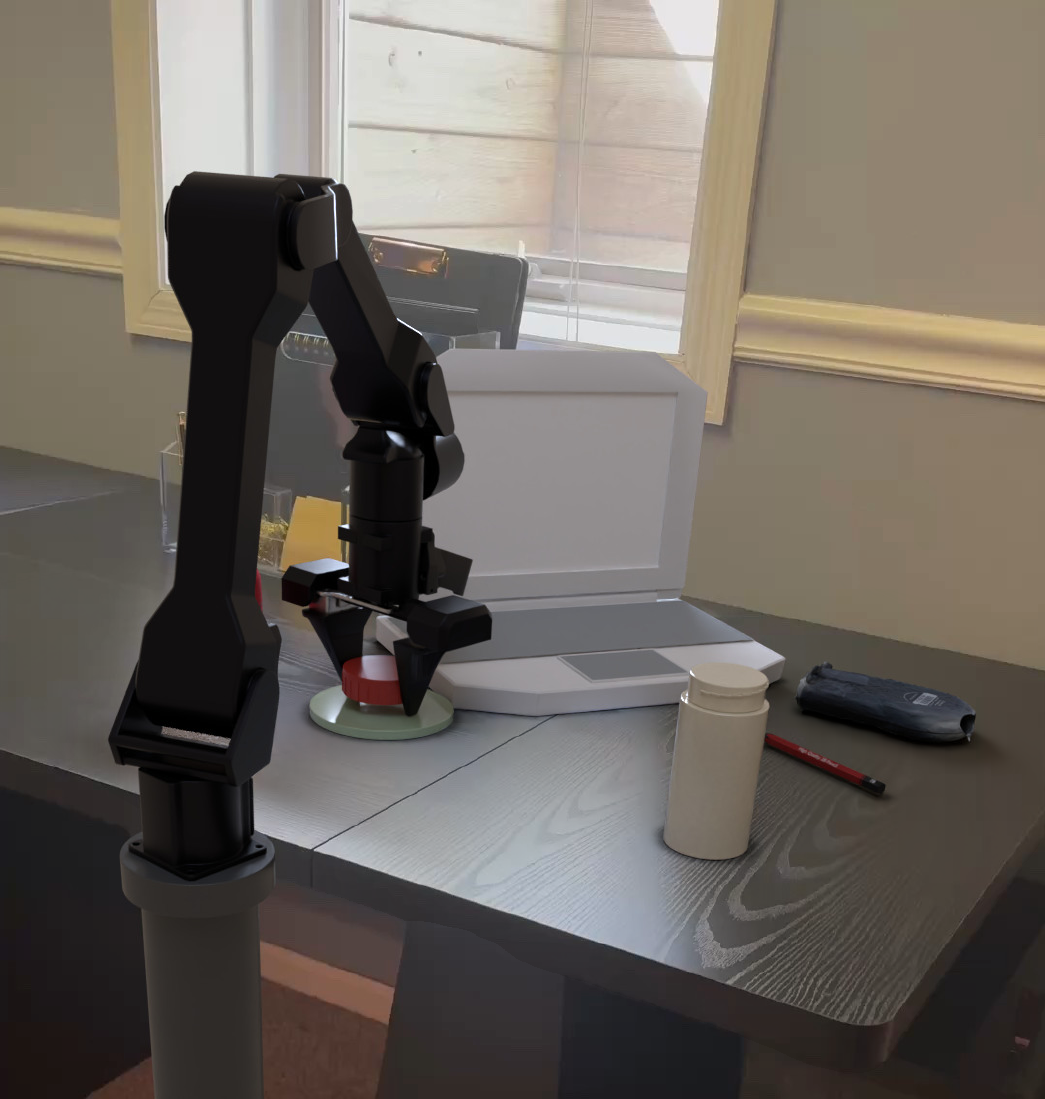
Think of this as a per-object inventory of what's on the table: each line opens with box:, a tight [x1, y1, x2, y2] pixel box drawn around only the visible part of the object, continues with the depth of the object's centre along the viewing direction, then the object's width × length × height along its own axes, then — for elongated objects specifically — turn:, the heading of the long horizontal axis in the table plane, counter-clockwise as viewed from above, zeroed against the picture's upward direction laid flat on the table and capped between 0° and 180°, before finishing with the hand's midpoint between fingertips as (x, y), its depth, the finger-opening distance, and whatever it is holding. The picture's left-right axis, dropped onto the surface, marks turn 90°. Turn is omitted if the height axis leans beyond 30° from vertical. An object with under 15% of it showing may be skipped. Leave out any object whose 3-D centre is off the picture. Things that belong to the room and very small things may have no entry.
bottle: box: [662, 663, 770, 861], centre depth 97 cm, size 6×6×12 cm
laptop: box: [375, 348, 787, 717], centre depth 127 cm, size 33×24×26 cm
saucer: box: [308, 684, 455, 741], centre depth 118 cm, size 12×12×1 cm
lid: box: [341, 654, 402, 705], centre depth 117 cm, size 7×7×2 cm
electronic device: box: [793, 661, 977, 743], centre depth 125 cm, size 9×6×15 cm
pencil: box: [764, 732, 887, 796], centre depth 114 cm, size 1×14×1 cm, turn 37°
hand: (382, 704), depth 118 cm, fingers closed on lid, 6 cm apart
